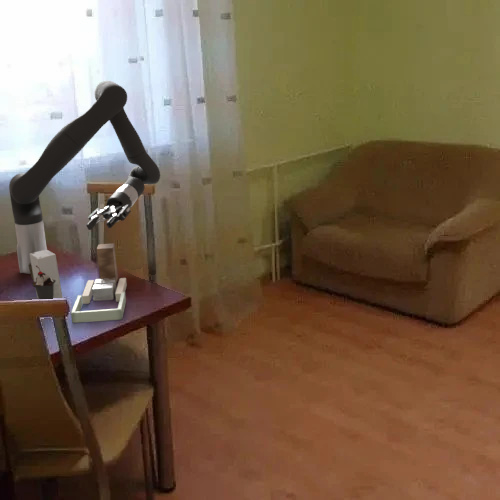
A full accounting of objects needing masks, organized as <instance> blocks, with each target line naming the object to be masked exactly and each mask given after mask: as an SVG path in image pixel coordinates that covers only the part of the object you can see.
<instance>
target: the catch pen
mask: <svg viewBox="0 0 500 500" xmlns="http://www.w3.org/2000/svg"><path fill="white" fill-rule="evenodd" d="M126 303H127V297H126V291H125V292H122V293H121V297H120V301H118V306H117V308H109V309H107V308H105V309H94V310H82V307H83V302H82V294H81V295H79V294H77V297H76V300H75V302H74V305H73V307H72V309H71V312H70V316H71V323H72V324H76V323H77V324H78V323H88V322H105V321H117V320H118V321H119V320H121V321H122V320H123V318H124V317H123V316H124V312H125V307H126V305H127V304H126Z"/></svg>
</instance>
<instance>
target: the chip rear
mask: <svg viewBox="0 0 500 500" xmlns="http://www.w3.org/2000/svg"><path fill="white" fill-rule="evenodd" d="M94 282H95V283H94V284H109V283H114V292H115V293H116V290H117V283H116V281H115V278H104V279H100V278H95V279H94Z"/></svg>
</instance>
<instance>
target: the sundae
mask: <svg viewBox="0 0 500 500" xmlns="http://www.w3.org/2000/svg"><path fill="white" fill-rule="evenodd" d="M36 267H37V268H39V267H38V266H36ZM39 270H40V269H39ZM55 282H56V280H53V279H51V278H50V277H49V276H48V275H47V274H46V273H42V272H41V271H40V272H39V273H38V277H37V278H36V280H35V282H34V281H33V282H31V285H32V287H34V288H35V292H36V291H37V294H36V296H37V295H38V298H39V299H53V295H54V283H55ZM38 298H37V299H38ZM39 299H38V300H39Z"/></svg>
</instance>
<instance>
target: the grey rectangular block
mask: <svg viewBox="0 0 500 500" xmlns="http://www.w3.org/2000/svg"><path fill="white" fill-rule="evenodd" d="M92 292H93V295H92V298H93V302H95V301H96V302H97V301H98V302H100V301H113V300H114V299H115V297H116V295H115V293H116V292H114V283H109V284H94V286H93V288H92Z"/></svg>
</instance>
